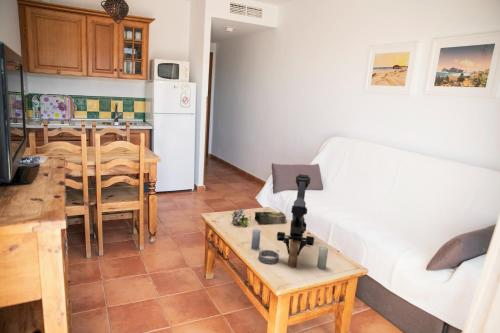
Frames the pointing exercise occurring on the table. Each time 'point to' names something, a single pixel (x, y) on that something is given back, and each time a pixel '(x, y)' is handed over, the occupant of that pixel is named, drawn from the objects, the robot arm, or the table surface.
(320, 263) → the grey-green peg
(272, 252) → the steel ring
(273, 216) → the dark olive boxy piece
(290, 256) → the walnut peg
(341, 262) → the table surface
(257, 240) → the slate-blue peg
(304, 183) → the robot arm
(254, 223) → the table surface
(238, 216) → the green succulent plant
